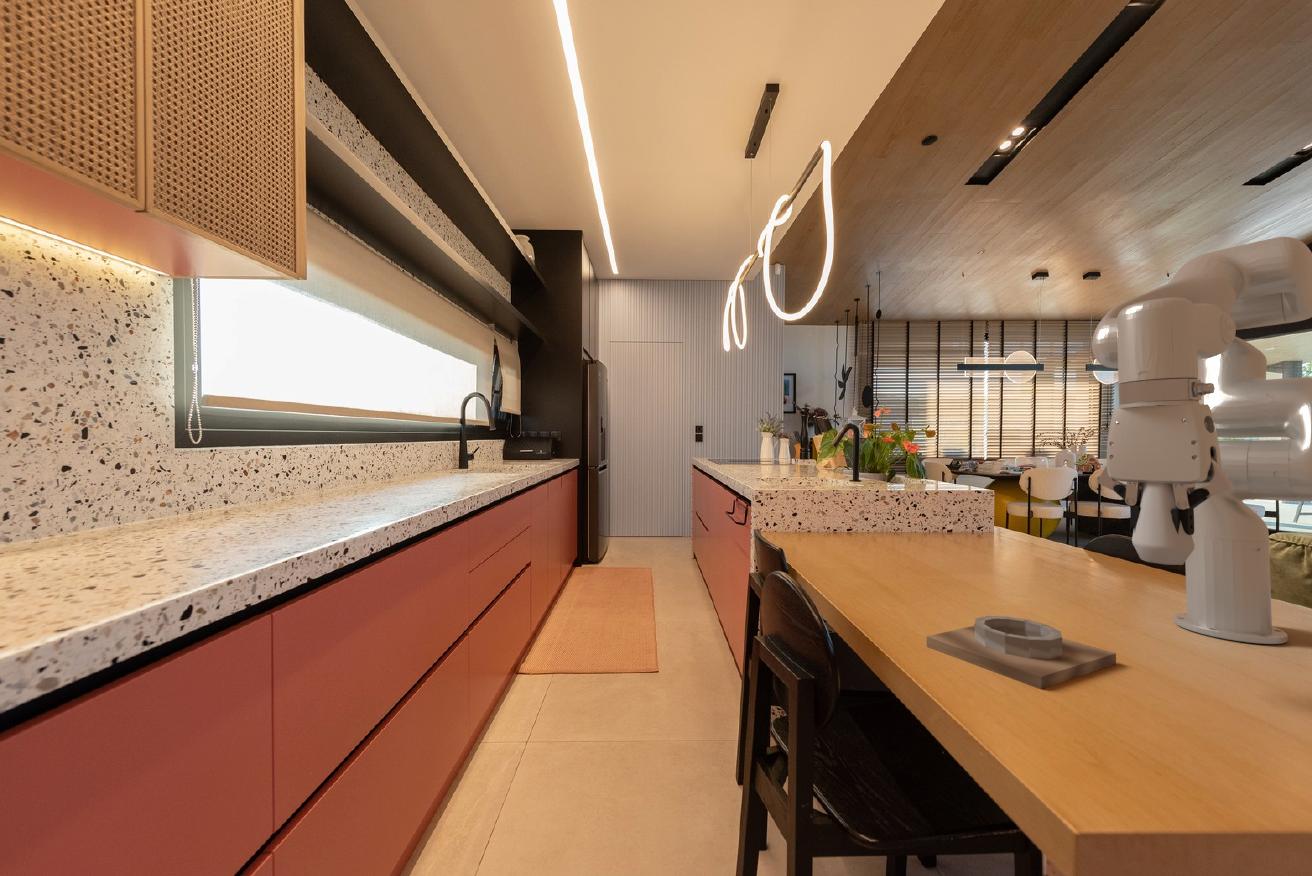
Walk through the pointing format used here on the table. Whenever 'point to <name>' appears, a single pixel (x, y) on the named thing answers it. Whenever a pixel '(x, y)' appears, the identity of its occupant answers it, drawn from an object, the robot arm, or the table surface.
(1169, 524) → the salt shaker
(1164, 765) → the table surface
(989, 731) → the table surface
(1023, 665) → the collar board
